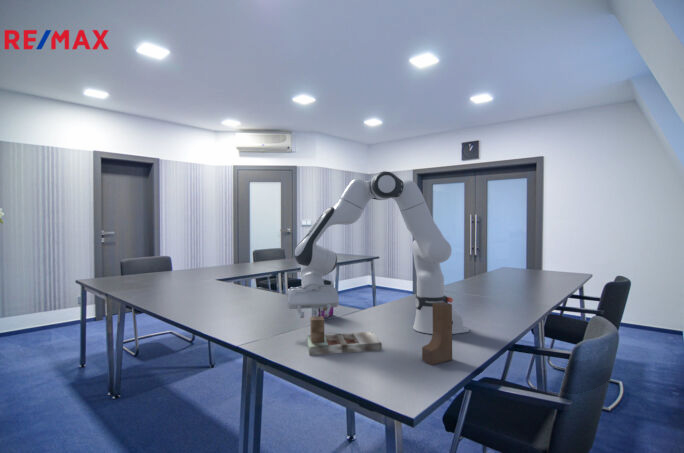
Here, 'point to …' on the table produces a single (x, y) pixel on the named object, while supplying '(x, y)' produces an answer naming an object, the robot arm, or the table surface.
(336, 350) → the track
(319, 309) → the candy bar box
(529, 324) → the table surface
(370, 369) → the table surface
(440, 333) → the wooden block
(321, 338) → the walnut block
